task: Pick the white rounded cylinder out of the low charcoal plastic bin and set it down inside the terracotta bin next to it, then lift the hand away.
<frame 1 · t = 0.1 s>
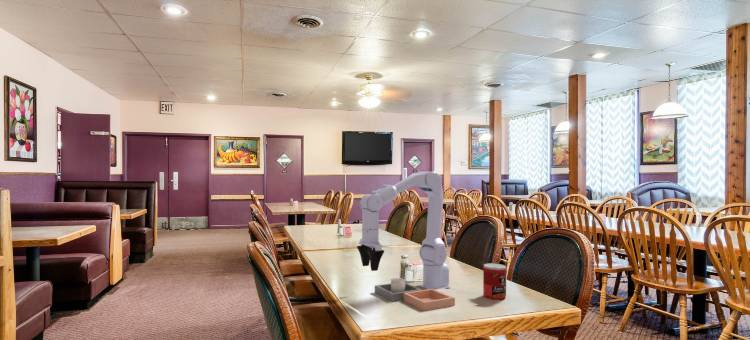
hand: (370, 268, 147), 10 cm above the table, fingers open, 7 cm apart
dump bin: (428, 304, 139), on the table
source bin: (397, 296, 148), on the table
canned food: (494, 297, 148), on the table
white rounded cylinder: (398, 294, 148), point 1 cm above the table, touching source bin
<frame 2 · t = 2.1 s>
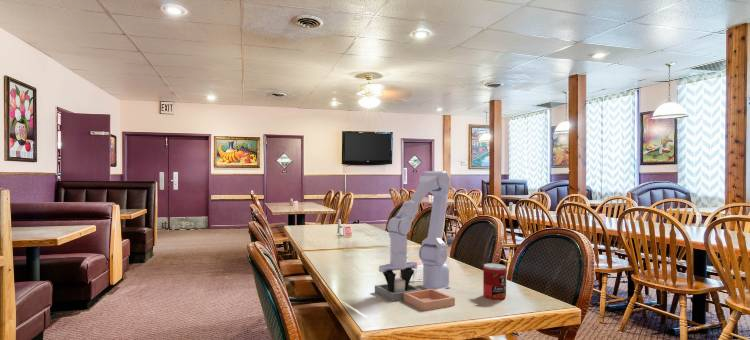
hand: (398, 290, 148), 2 cm above the table, fingers closed on white rounded cylinder, 5 cm apart
white rounded cylinder: (398, 294, 148), point 1 cm above the table, touching gripper, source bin
everything else where it was.
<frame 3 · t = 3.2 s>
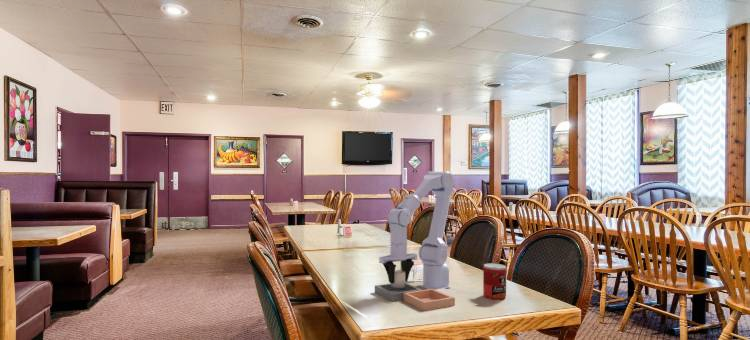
hand: (398, 281, 148), 5 cm above the table, fingers closed on white rounded cylinder, 5 cm apart
white rounded cylinder: (398, 285, 148), point 4 cm above the table, touching gripper
everything else where it was.
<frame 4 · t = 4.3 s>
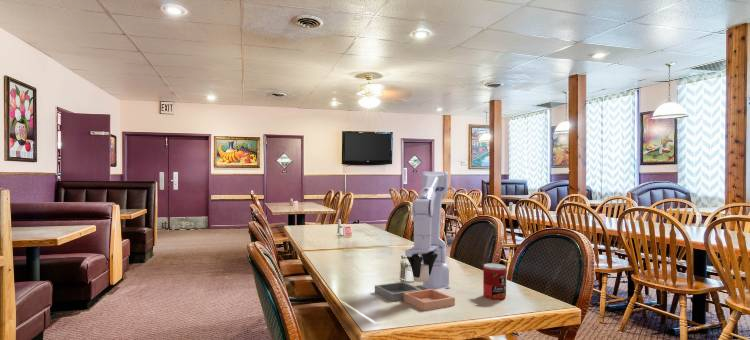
hand: (422, 275, 141), 9 cm above the table, fingers closed on white rounded cylinder, 5 cm apart
white rounded cylinder: (421, 280, 141), point 7 cm above the table, touching gripper
everything else where it was.
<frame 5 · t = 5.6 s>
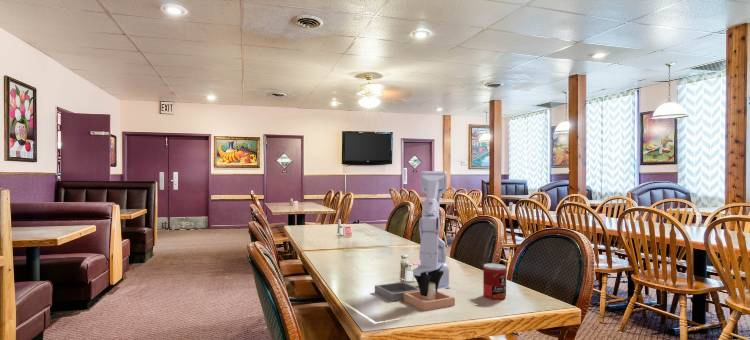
hand: (428, 293, 139), 3 cm above the table, fingers closed on white rounded cylinder, 5 cm apart
white rounded cylinder: (428, 298, 139), point 2 cm above the table, touching gripper
everything else where it was.
when the fingers open (3 cm above the table, at t = 6.5 s): white rounded cylinder drops 1 cm, resting on dump bin.
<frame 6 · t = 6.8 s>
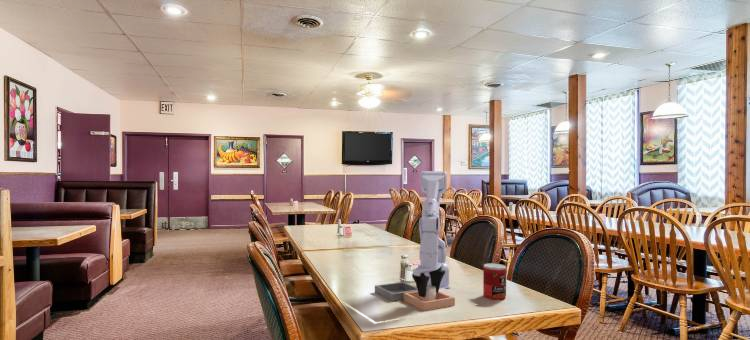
hand: (428, 294, 139), 3 cm above the table, fingers open, 7 cm apart
white rounded cylinder: (428, 302, 139), point 1 cm above the table, touching dump bin
everything else where it was.
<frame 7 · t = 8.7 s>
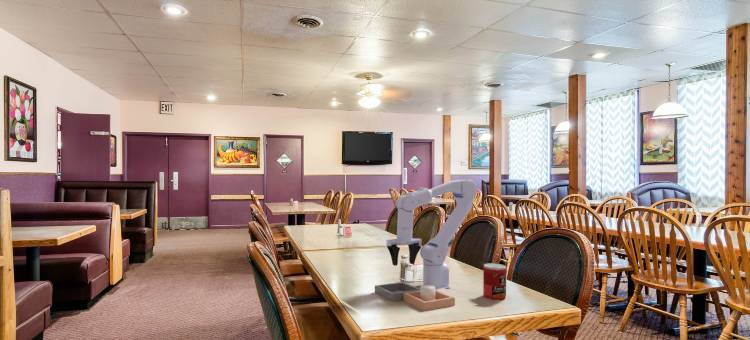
hand: (403, 264, 156), 9 cm above the table, fingers open, 7 cm apart
nothing on the table moved.
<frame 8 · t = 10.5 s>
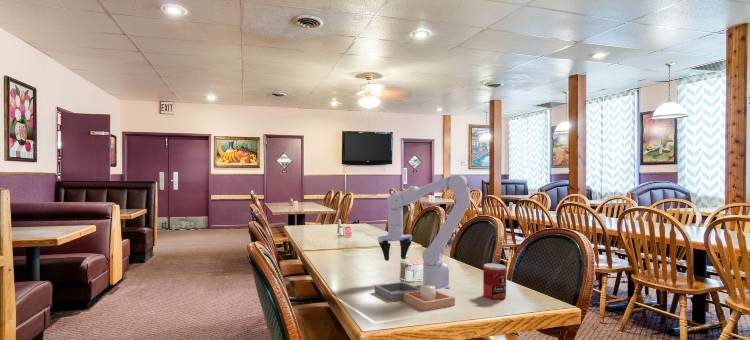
hand: (395, 259, 165), 9 cm above the table, fingers open, 7 cm apart
nothing on the table moved.
at the end: white rounded cylinder inside the target area on the dump bin (0.3 cm from its centre), point 0.7 cm above the dump bin's base; white rounded cylinder tilted 3°; the gripper is holding nothing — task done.
